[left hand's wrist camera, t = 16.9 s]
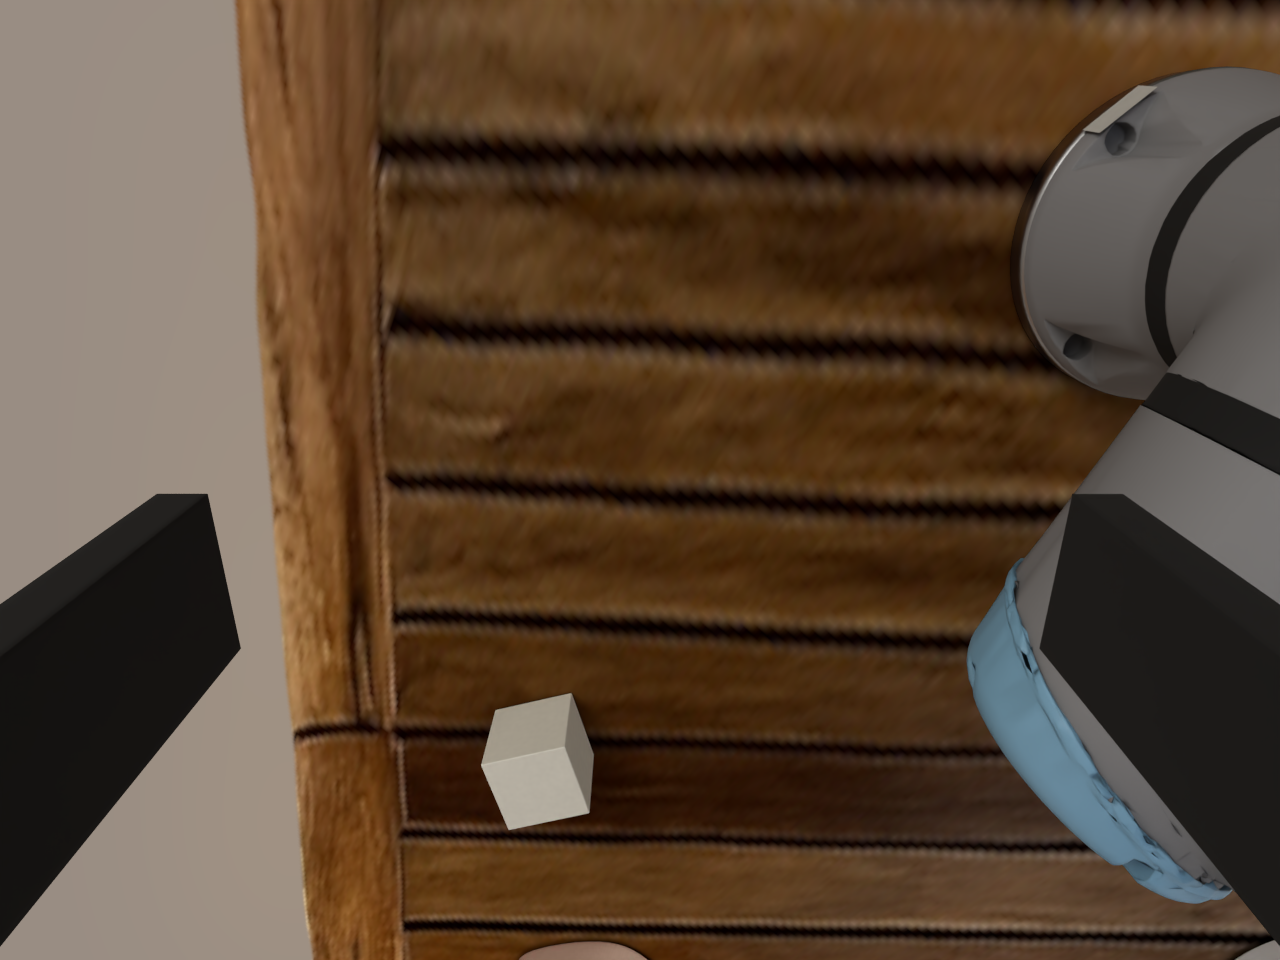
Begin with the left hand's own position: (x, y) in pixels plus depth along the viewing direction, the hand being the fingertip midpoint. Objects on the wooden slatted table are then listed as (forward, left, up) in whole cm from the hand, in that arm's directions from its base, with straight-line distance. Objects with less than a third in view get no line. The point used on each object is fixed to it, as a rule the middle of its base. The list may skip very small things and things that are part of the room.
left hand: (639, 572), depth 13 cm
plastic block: (+6, +28, -31) cm, 42 cm away
